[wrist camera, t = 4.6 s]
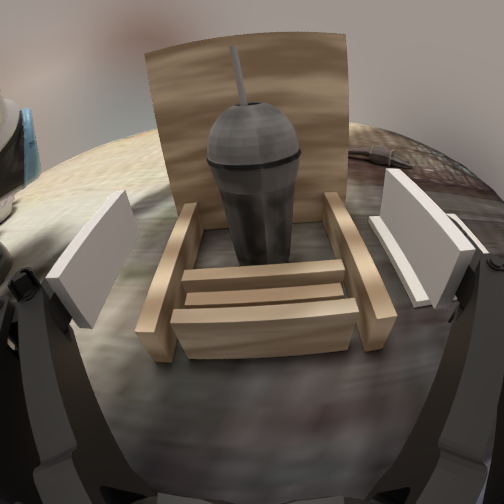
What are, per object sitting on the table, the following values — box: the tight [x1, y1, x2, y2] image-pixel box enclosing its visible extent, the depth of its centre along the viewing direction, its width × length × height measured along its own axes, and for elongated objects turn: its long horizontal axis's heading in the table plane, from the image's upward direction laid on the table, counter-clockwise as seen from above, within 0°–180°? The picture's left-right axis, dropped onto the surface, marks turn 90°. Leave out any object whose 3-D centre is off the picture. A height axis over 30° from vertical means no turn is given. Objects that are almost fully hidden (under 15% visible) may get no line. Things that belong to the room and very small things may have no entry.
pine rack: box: [135, 32, 397, 363], centre depth 22 cm, size 24×20×22 cm
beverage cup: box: [206, 45, 301, 266], centre depth 21 cm, size 7×7×20 cm
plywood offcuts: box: [170, 259, 359, 359], centre depth 20 cm, size 5×12×4 cm, turn 89°
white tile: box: [368, 214, 488, 308], centre depth 26 cm, size 14×14×1 cm
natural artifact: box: [348, 145, 414, 168], centre depth 49 cm, size 4×23×4 cm
